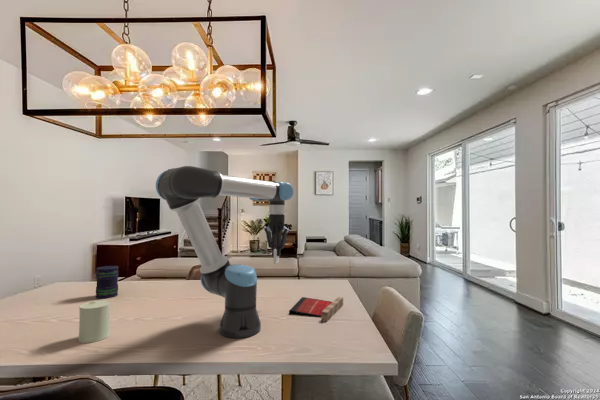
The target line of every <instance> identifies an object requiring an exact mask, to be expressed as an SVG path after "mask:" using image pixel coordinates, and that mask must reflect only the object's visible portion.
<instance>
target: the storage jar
mask: <svg viewBox="0 0 600 400" xmlns="http://www.w3.org/2000/svg"><path fill="white" fill-rule="evenodd" d="M119 272H120V271H119V266H118V265H103V266H98V267H96V273H95V274H96V275H95V276H96V277H95V278H96V286H95V295H96V296H95V299H98V300H106V299H111V298H112V299H113V298H116V297H117V296H118V295H119V293H118V292H119V284H118V283H119V282H118V280H119V279H118V278H119Z"/></svg>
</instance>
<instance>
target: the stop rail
mask: <svg viewBox="0 0 600 400" xmlns="http://www.w3.org/2000/svg"><path fill="white" fill-rule="evenodd" d="M331 302H332V303H331V304H330V305H329V306H327V307H326V308H325V309H324V310H323V311H322V317H321V321H322V322H323V321H324V322H328V321H329V320H330V319H331V318H332V317H333V316H334V315H335V314H336V313H337V312H338V311H339V310H340V309H341V308H342V307H343V306H344V297H341V296H337V297H336V298H335V299H334V300H333V301H331Z"/></svg>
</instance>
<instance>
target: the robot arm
mask: <svg viewBox="0 0 600 400" xmlns="http://www.w3.org/2000/svg"><path fill="white" fill-rule="evenodd" d="M155 190H156V193H157V194H158V196H159V197H161V199H163V200H164V201H166V203H167V205H168V208H169V209H170V210H171V211H174V212H176V214H177V216H178V218H179V220H180V222H181V225H182V227H183V229H184V231H185V233H186V235H187V238H188V239H189V241H190V243H191V245H192V248H193V250H194V251H195V254H196V256H197V258H198V260H199V262H200V264H201V266H200V268H199V272H200V274H201V276H200V283H201V286H202V287H203V289H204V290H206V291H207V292H208V293H210V294H213V295H217V296H219V297H223V298H224V311H223V315H222V318H221V321H220V323H219V334H220V335H222V336H224V337H226V338H229V339H230V338H231V339H232V338H233V339H241V338H243V339H244V338H247V337H252V336H254V335H257V334H258V333H259V332H260V331H261V329H262V324H261V320H260V316H259V314H258V313H259V311H258V310H257V291H258V290H257V284H258V282H257V281H258V277H257V271H256V269H255V268H254V267H252V266H249V265H246V264H231V263H230V261H229V257H227V256H224V255H223V253H222V252H221V250H220V248H219V245H218V243H217V240H216V239H215V237H214V236H215V235H214V234H213V231H212V229H211V227H210V225H209V223H208V221H207V219H206V216H205V214H204V211H203V209H202V207H201V204H200V200H201V198H214V199H215V198H218V196H222V197H223V196H225V197H236V198H237V197H238V198H245V199H246V198H248V199H250V200H251V201H254V202H255V201H256V202H268V204H269V205H268V206H269V207H268V209H269V210H268V213H269V214H268V221H269V222H268V223H269V224H268V226H266V227H264V229H263V230H264V232H265V235H266V239H267V245H268V248H270V249H271V250H272V251H271V253H272V257H273V264H279V263H280V257H281V250H282V249H284V248H285V247H286V242H287V236H288V233H289V232H290V228H287V227H286V225H285V217H286V216H285V212H286V211H285V203H286V202H285V201H289V200H291V199H292V198H293V196H294V187H293V186H292V184H291V183H289V182H282V181H269V180H262V179H255V178H250V177H249V178H247V177H241V176H234V175H226V174H221V172H220V171H217V170H214V169H209V168H203V167H198V166H191V165H184V166H179V167H174V168H173V167H172V168H169V169H167V170H165V171H163V172H161V173H160V174H159V175H158V177H157V179H156V181H155Z"/></svg>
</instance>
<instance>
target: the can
mask: <svg viewBox="0 0 600 400" xmlns="http://www.w3.org/2000/svg"><path fill="white" fill-rule="evenodd" d="M110 313H111V301H109V300H95V301H93V300H92V301H88V302H86V303H82V304H80V306H79V319H78V320H79V322H78V323H79V325H78V330H79V332H78V342H79V343H82V344H86V343H87V344H88V343H89V344H90V343H95V342H99V341H102V340H104V339H105V340H106V339H107V338H108V337H109V336H110V334H111V332H110V331H111V330H110V325H111V324H110V323H111V322H110V317H111V314H110Z"/></svg>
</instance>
